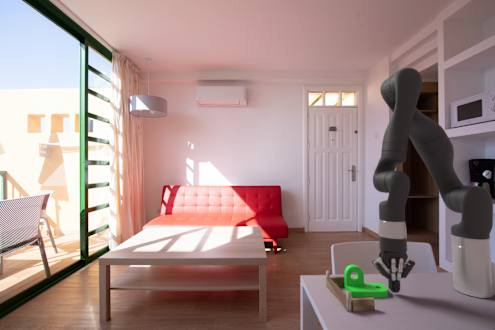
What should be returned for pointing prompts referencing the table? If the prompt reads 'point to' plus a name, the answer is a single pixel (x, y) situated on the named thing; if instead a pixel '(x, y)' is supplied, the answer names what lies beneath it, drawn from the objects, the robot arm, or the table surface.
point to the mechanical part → (362, 285)
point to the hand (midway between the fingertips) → (394, 291)
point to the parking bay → (348, 295)
